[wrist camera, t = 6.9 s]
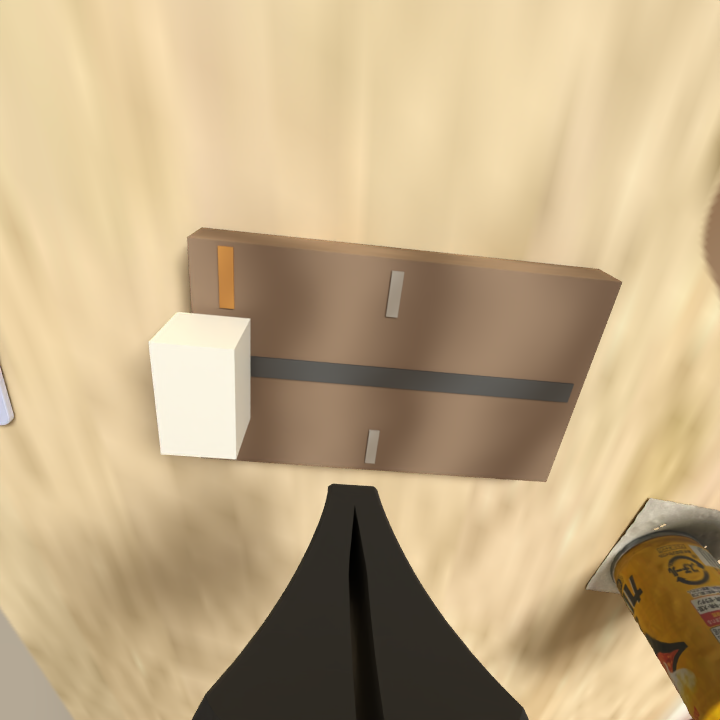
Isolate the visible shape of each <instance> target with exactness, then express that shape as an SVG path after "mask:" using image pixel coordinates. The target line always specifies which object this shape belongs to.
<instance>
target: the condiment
mask: <svg viewBox="0 0 720 720" xmlns="http://www.w3.org/2000/svg"><path fill="white" fill-rule="evenodd" d="M663 524H666V526H664V527H660V526H661V525H663ZM657 527H660V528H659V529H658V530H653V529H654V528H657ZM705 546H707V548H704V547H705ZM718 560H720V511H717V510H712V509H707V508H701V507H696V506H694V505H685V504H679V503H675V502H671V501H663V500H657V499H652V498H650V499H649V501H648V502H647V503H646V505H645V507H644V508H643V510H642V511H641V512H640V513H639V514H638V516H637V517H636V520H635V521H634V523H633V524H632V525H631V526H630V527H629V529H628V530H627V532H626V534H625V535H624V536H623V537H622V538H621V540H620V541H619V542H618V543H617V544H616V545H615V547H614V548H613V549H612V550H611V552H610V553H609V555H608V556H607V558H606V559H605V560H604V562H603V563H602V565H601V566H600V567H599V568H598V570H597V571H596V574H595V575H594V576H593V577H592V579H591V580H590V582H589V583H588V585H587V588H586V589H587V590H595V591H604V592H612V593H619V594H621V595H622V597H623V599H624V601H625V602H626V605H627V606H628V608H629V610H630V611H631V613H632V615H633V616H634V618H635V620H636V622H637V623H638V624H639V627H640V629H641V631H642V632H643V634H644V635H645V637H646V638H647V640H648V642H649V643H650V645H651V647H652V648H653V650H654V652H655V654H656V656H657V657H658V659H659V660H660V662H661V664H662V666H663V667H664V669H665V670H666V672H667V674H668V676H669V677H670V679H671V681H672V683H673V684H674V686H675V688H676V690H677V691H678V693H679V694H680V696H681V698H682V700H683V702H684V703H685V705H686V707H687V709H688V711H689V714H690V715H691V716H692V718H693V719H694V720H720V564H719V563H718V562H717V561H718Z"/></svg>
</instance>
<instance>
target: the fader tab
mask: <svg viewBox="0 0 720 720" xmlns="http://www.w3.org/2000/svg"><path fill="white" fill-rule="evenodd" d="M149 351H150V360H151V369H152V378H153V387H154V396H155V405H156V414H157V423H158V432H159V441H160V450H161V454H165V455H179V456H193V457H208V458H222V459H237V456H238V453H239V450H240V447H241V444H242V441H243V438H244V435H245V432H246V430H247V427H248V424H249V421H250V319H249V318H238V317H227V316H216V315H205V314H194V313H184V312H177V313H176V314H175V315H174V316H173V317H172V318H171V319H170V320H169V321H168V322H167V323H166V324H165V325H164V326H163V327H162V328H161V329H160V331H159V332H158V333H157V334H156V335H155V336H154V337H153V338H152V339H151V340H150V341H149Z"/></svg>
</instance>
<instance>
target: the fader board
mask: <svg viewBox="0 0 720 720" xmlns="http://www.w3.org/2000/svg"><path fill="white" fill-rule="evenodd" d="M187 243H188V259H189V275H190V291H191V307H192V313H194V314H205V315H216V316H227V317H238V318H249V319H250V421H249V424H248V427H247V430H246V432H245V435H244V438H243V441H242V444H241V447H240V450H239V453H238V456H237V459H225V460H239V461H253V462H268V463H282V464H296V465H310V466H325V467H339V468H353V469H368V470H382V471H396V472H410V473H425V474H439V475H453V476H468V477H482V478H496V479H510V480H525V481H539V482H546V481H547V478H548V476H549V473H550V470H551V468H552V465H553V463H554V460H555V457H556V455H557V452H558V449H559V447H560V444H561V442H562V439H563V436H564V434H565V431H566V428H567V426H568V423H569V421H570V418H571V415H572V413H573V410H574V408H575V405H576V402H577V400H578V397H579V394H580V392H581V389H582V387H583V384H584V381H585V379H586V376H587V373H588V371H589V368H590V366H591V363H592V360H593V358H594V355H595V352H596V350H597V347H598V345H599V342H600V339H601V337H602V334H603V331H604V329H605V326H606V324H607V321H608V318H609V316H610V313H611V310H612V308H613V305H614V303H615V300H616V297H617V295H618V292H619V290H620V287H621V284H622V282H621V281H619V280H618V279H616V278H614V277H612V276H610V275H609V274H607V273H605V272H603V271H601V270H599V269H593V268H583V267H573V266H564V265H554V264H545V263H535V262H526V261H516V260H507V259H497V258H487V257H478V256H468V255H459V254H449V253H440V252H430V251H420V250H411V249H401V248H392V247H382V246H373V245H363V244H354V243H344V242H334V241H325V240H315V239H306V238H296V237H287V236H277V235H268V234H258V233H248V232H239V231H229V230H220V229H210V228H200V229H199V230H197V231H196V232H194V233H193V234H191V235H190V236H188V237H187ZM201 458H208V457H201ZM210 459H222V458H210Z"/></svg>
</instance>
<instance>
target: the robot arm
mask: <svg viewBox="0 0 720 720" xmlns="http://www.w3.org/2000/svg"><path fill="white" fill-rule="evenodd" d="M13 418H14V414H13V411H12V407H11V403H10V400H9V396H8V393H7V389H6V386H5V382H4V379H3V375H2V372H1V368H0V425H6V424H8V423H9V422H11V421H12V420H13ZM192 720H529V719H528V717H527V715H526V712H525V710H524V708H523V707H522V706H521V705H520V704H519V703H518V702H517V701H516V700H515V699H514V698H513V697H512V696H511V695H510V694H509V693H508V692H507V691H506V690H505V689H504V688H503V687H502V686H501V685H500V684H499V683H498V682H497V681H496V679H495V678H494V677H493V676H492V675H491V674H490V673H489V672H488V671H487V670H486V669H485V667H484V666H483V665H482V664H481V663H480V662H479V661H478V659H477V658H476V657H475V656H474V655H473V654H472V653H471V651H470V650H469V649H468V648H467V646H466V645H465V644H464V643H463V641H462V640H461V639H460V638H459V636H458V635H457V634H456V633H455V631H454V630H453V629H452V628H451V626H450V625H449V624H448V622H447V621H446V620H445V618H444V617H443V616H442V614H441V613H440V611H439V610H438V609H437V607H436V606H435V604H434V603H433V601H432V600H431V598H430V597H429V595H428V594H427V592H426V591H425V589H424V588H423V586H422V584H421V583H420V581H419V580H418V578H417V576H416V575H415V573H414V571H413V569H412V567H411V566H410V564H409V562H408V560H407V559H406V557H405V555H404V553H403V551H402V549H401V547H400V545H399V543H398V541H397V539H396V537H395V535H394V533H393V531H392V528H391V526H390V524H389V521H388V519H387V517H386V514H385V512H384V509H383V507H382V504H381V501H380V498H379V495H378V491H377V489H376V488H375V487H373V486H358V485H343V484H331V485H330V486H328V494H327V498H326V503H325V506H324V509H323V512H322V515H321V518H320V521H319V523H318V526H317V528H316V531H315V533H314V535H313V538H312V540H311V542H310V545H309V547H308V549H307V551H306V553H305V555H304V557H303V559H302V561H301V563H300V565H299V566H298V568H297V570H296V572H295V574H294V576H293V577H292V579H291V581H290V583H289V584H288V586H287V588H286V589H285V591H284V593H283V594H282V596H281V597H280V599H279V600H278V602H277V603H276V605H275V606H274V608H273V610H272V611H271V613H270V614H269V616H268V617H267V618H266V620H265V621H264V623H263V624H262V626H261V627H260V628H259V630H258V631H257V632H256V634H255V635H254V636H253V638H252V639H251V640H250V641H249V643H248V644H247V645H246V647H245V648H244V649H243V651H242V652H241V653H240V655H239V656H238V657H237V658H236V660H235V661H234V662H233V663H232V664H231V666H230V667H229V668H228V669H227V670H226V671H225V672H224V674H223V675H222V676H221V677H220V678H219V679H218V680H217V682H216V683H215V684H214V685H213V686H212V687H211V689H210V690H209V691H208V692H207V693H206V694H205V696H204V698H203V700H202V702H201V703H200V705H199V707H198V709H197V711H196V713H195V715H194V717H193V719H192Z"/></svg>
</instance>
